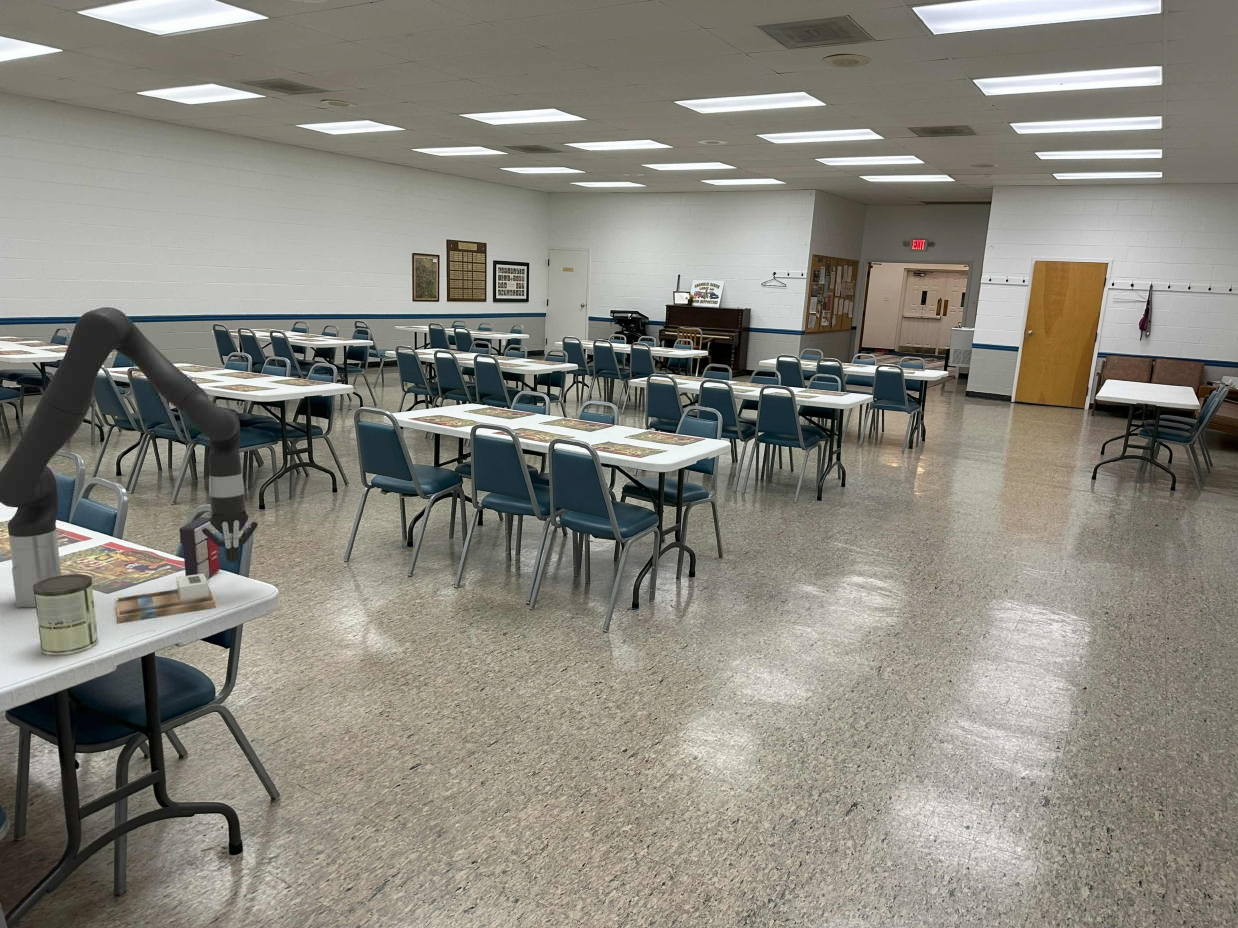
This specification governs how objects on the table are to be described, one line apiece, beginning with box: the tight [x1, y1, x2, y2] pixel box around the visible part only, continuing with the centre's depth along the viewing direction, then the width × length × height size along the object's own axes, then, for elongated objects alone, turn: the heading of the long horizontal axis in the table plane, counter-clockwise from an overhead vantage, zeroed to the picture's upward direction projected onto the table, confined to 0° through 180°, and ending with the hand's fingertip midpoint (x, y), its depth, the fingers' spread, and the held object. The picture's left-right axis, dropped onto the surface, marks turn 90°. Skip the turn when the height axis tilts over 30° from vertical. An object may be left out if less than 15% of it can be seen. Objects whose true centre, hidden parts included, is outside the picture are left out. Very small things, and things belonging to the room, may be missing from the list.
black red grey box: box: [178, 516, 220, 580], centre depth 218 cm, size 11×4×15 cm, turn 179°
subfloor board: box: [114, 585, 217, 624], centre depth 199 cm, size 20×12×2 cm, turn 122°
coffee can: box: [33, 573, 99, 657], centre depth 175 cm, size 10×10×14 cm
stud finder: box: [176, 574, 210, 601], centre depth 202 cm, size 6×8×4 cm
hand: (232, 561), depth 205 cm, fingers closed
